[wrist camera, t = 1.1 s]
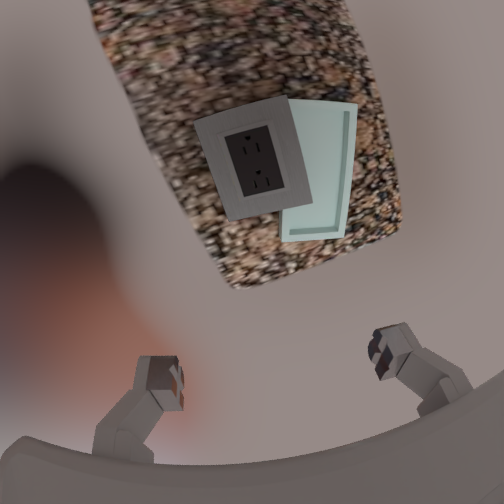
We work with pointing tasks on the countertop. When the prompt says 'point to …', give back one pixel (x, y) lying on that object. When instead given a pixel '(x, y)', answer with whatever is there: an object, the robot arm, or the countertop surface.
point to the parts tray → (322, 169)
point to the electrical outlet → (255, 158)
